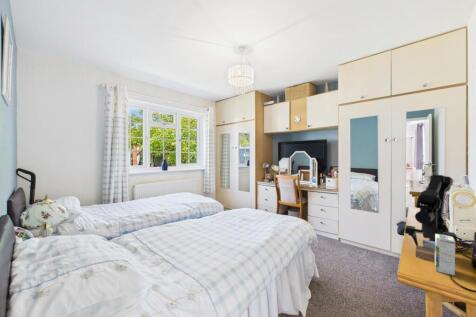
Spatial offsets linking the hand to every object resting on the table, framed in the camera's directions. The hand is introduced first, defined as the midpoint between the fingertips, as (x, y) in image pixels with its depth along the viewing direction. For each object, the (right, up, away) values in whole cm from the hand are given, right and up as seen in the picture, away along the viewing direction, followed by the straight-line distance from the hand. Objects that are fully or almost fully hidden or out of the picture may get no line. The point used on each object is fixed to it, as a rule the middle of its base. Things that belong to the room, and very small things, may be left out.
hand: (429, 250), depth 103 cm
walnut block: (-5, -2, -4) cm, 7 cm away
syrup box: (-8, -2, -16) cm, 18 cm away
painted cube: (0, -1, 0) cm, 1 cm away
